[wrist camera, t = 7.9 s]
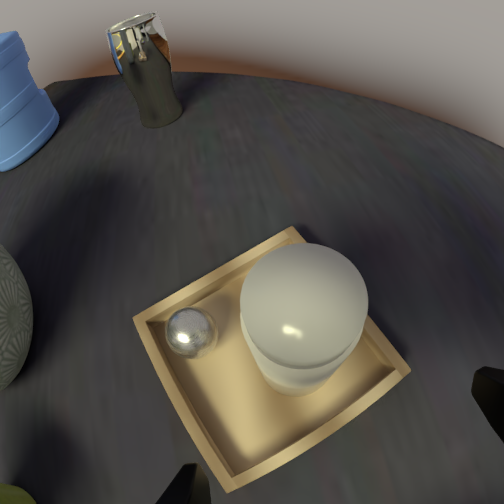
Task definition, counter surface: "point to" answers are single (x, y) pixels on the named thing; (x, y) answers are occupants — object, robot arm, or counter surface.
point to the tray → (256, 380)
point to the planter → (13, 319)
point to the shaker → (302, 315)
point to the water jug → (21, 106)
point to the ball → (191, 332)
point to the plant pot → (14, 495)
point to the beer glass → (146, 67)
